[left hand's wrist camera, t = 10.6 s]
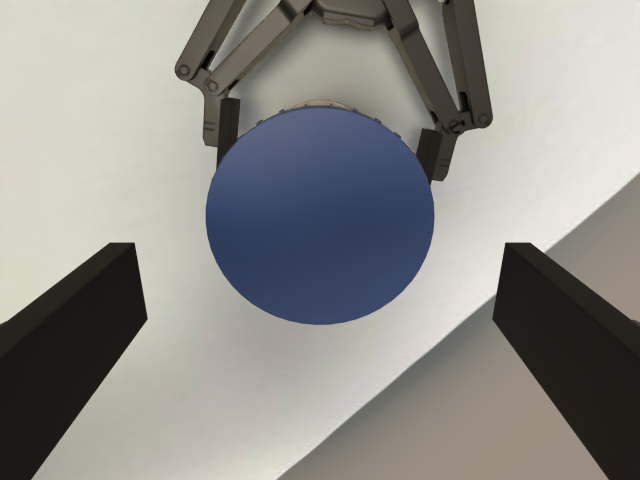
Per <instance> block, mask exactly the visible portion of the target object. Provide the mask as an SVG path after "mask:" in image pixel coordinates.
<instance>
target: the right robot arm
mask: <svg viewBox="0 0 640 480" xmlns="http://www.w3.org/2000/svg"><path fill="white" fill-rule="evenodd" d="M437 1H439V2H442V14H443V22H444V27H445V32H446V37H447V42H448V48H449V53H450V58H451V63H452V69H453V74H454V79H455V84H456V89H457V95H458V100H459V105H460V110H457V108H456V106H455V104H454V101H453V99H452V97H451V95H450V93H449V91H448V89H447V87H446V85H445V82H444V80H443V78H442V76H441V74H440V72H439V70H438V68H437V66H436V64H435V61H434V59H433V57H432V55H431V53H430V51H429V49H428V47H427V45H426V42H425V40H424V38H423V36H422V34H421V32H420V30H419V24H418V21H417V18H416V16H415V14H414V12H413V10H412V8H411V6H410V4H409V1H408V0H281V1H280V3H279V4H278V5H277V6H276V7H275V8H274V10H273V11H272V12H271V13H270V14H269V15H268V16H267V17H266V18H265V19H264V20H263V21H262V22H261V23H260V24H259V25H258V26H257V27H256V28H255V29H254V30H253V31H252V32H251V33H250V34H249V35H248V36H247V37H246V38H245V39H244V40H243V41H242V42H241V43H240V44H239V45H238V46H237V47H236V48H235V49H234V50H233V51H232V52H231V54H230V55H229V56H228V57H227V58H226V59H225V60H224V61H223V62H222V63H221V64H220V65H219V66H218V67H217V68H216V69H215V70H214V71H211V70H209V69H208V68H209V66H210V64H211V62H212V61H213V59H214V57H215V55H216V53H217V52H218V50H219V48H220V46H221V45H222V43H223V41H224V39H225V37H226V36H227V34H228V32H229V30H230V29H231V27H232V25H233V23H234V21H235V20H236V18H237V16H238V14H239V13H240V11H241V9H242V7H243V5H244V4H245V2H246V0H210V1H209V3H208V5H207V7H206V9H205V11H204V13H203V14H202V16H201V18H200V20H199V22H198V24H197V26H196V28H195V29H194V31H193V33H192V35H191V37H190V39H189V41H188V43H187V44H186V46H185V48H184V50H183V52H182V54H181V56H180V57H179V59H178V61H177V63H176V65H175V73H176V75H177V77H178V78H179V79H181V80H183V81H186V82H188V83H190V84H192V85H194V86H196V87H197V88H199V89H200V90H201V91H202V93H203V95H204V100H205V103H204V123H203V140H204V143H205V145H206V146H212V147H218V150H217V166H216V170H217V168H218V166H219V164H220V163H221V161H222V157H223V156H225V155H226V153H227V152H228V151H229V150H230V149H231V147H232V146H233V145H234V144H235V143H236V142H237V136H238V124H239V111H240V99H235V98H228V94H229V93H230V91H231V90H232V89H233V88H234V87H235V86H236V85H237V84H238V83H239V82H240V81H241V80H242V79H243V78H244V77H245V76H246V75H247V74H248V73H249V72H250V71H251V70H252V69H253V68H254V67H255V66H256V65H257V64H258V63H259V62H260V61H261V60H262V59H263V58H264V57H265V56H266V55H267V54H268V53H269V52H270V51H271V50H272V49H273V48H274V47H275V46H276V45H277V44H278V43H279V42H280V41H281V40H282V39H283V38H284V37H285V36H286V35H287V34H288V33H289V32H290V31H291V30H292V29H293V28H294V27H295V26H297V25H298V24H299V23H300V22H301V21H302V20H303V19H304V18H305V17H306V16H307V15H308V14H309V13H310V12H312V13H313V14H314V16H315V17H316V18H318V19H319V20H321V21H323V23H325V24H331V25H339V24H349V25H351V26H353V27H355V28H357V29H360V30H366V31H370V30H372V29H376V28H379V27H381V26H382V25H384V27H385V29H386V31H387V33H388V35H389V37H390V39H391V40H392V42H393V43H394V44H395V46H396V48H397V50H398V52H399V54H400V56H401V58H402V60H403V62H404V64H405V66H406V68H407V70H408V72H409V74H410V76H411V78H412V80H413V82H414V84H415V86H416V88H417V90H418V92H419V94H420V96H421V98H422V100H423V102H424V104H425V106H426V108H427V110H428V112H429V114H430V116H431V118H432V120H433V122H434V124H435V130H430V129H423V128H422V132H421V136H420V140H419V145H418V149H417V153H416V156H417V157H416V158H417V159H418V161H419V162H420V164H421V166H422V168H423V170H424V172H425V174H426V176H427V179H428V182H429V185H431V181H432V180H436V181H443V180H444V179H445V177H446V176H447V174H448V170H449V166H450V162H451V158H452V155H453V151H454V147H455V143H456V140H457V138H458V136H459V135H461V134H462V133H464V132H465V131H467V130H471V129H476V128H486V127H488V126H489V125H490V124H491V122H492V120H493V114H492V108H491V102H490V96H489V90H488V84H487V78H486V72H485V66H484V60H483V54H482V48H481V42H480V36H479V30H478V24H477V18H476V12H475V6H474V0H437Z"/></svg>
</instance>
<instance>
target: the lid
mask: <svg viewBox="0 0 640 480" xmlns="http://www.w3.org/2000/svg"><path fill="white" fill-rule="evenodd" d="M256 125H257V126H255V127H254V128H252V129H251V130H249V131H248V132H247V133H246V134H245V135H244V134H243V135H241V136H240V137H238V138H237V142H236V143H235V144H234V145H233V146H232V147H231V149H230V150H229V151H228V152H227V153H226V155H225V156H223V157H222V161H221V163H220V164H219V166H218V168H217V170H216V172H215V174H214V177H213V178H212V182H211V185H210V189H209V192H208V197H207V204H206V228H207V236H208V240H209V243H210V247H211V250H212V253H213V255H214V258H215V260H216V262H217V264H218V266H219V268H220V269H221V271H222V273H223V274H224V276H225V277H226V278H227V280H228V281H229V282H230V284H231V285H232V286H233V287H234V288H235V289H236V290H237V291H238V292H239V293H240V294H241V295H242V296H243V297H244V298H246V299H247V300H248V301H249V302H251V303H252V304H254V305H255V306H257V307H258V308H260V309H262V310H263V311H265V312H267V313H270V314H272V315H274V316H276V317H279V318H282V319H285V320H288V321H293V322H297V323H302V324H313V325H327V324H336V323H343V322H347V321H351V320H355V319H358V318H361V317H363V316H366V315H369V314H371V313H373V312H374V311H376V310H378V309H380V308H382V307H383V306H385V305H386V304H388V303H389V302H391V301H392V300H393V299H394V298H396V297H397V296H398V295H399V294H400V293H401V292H402V291H403V290H404V289H405V288H406V287H407V286H408V285H409V284H410V282H411V281H412V280H413V278H414V277H415V276H416V274H417V273H418V271H419V270H420V268H421V266H422V264H423V262H424V260H425V258H426V255H427V253H428V250H429V247H430V244H431V239H432V235H433V229H434V202H433V197H432V192H431V188H430V185H429V182H428V179H427V176H426V174H425V172H424V170H423V168H422V166H421V164H420V162H419V161H418V159H417V158H416V157H417V156H416V154H414V153H413V152H412V151H411V150H410V148H409V147H408V146H407V145H406V144H405V143H404V142H403V141H402V140H401V139H400V138H401V136H399V135H398V134H396V133H395V132H394V133H393V132H392V131H390V130H389V129H388V128H387V127H385V126H384V125H382V124H381V121H380V120H378V119H376V118H375V120H374V119H372V118H370V117H369V116H367V115H364V114H362V113H359V112H358V110H356V109H354V108H353V110H351V109H347V108H343V107H338V106H333V105H332V104H329V105H309V106H308V104H305V105H304V106H303V107H297V108H293V109H290V110H286V111H284V109H283V110H281V111H279V113H278V114H276V115H274V116H272V117H270V118H267V119H266V120H264V121H263V120H260V121H259V122H257V123H256Z"/></svg>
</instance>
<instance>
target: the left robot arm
mask: <svg viewBox="0 0 640 480" xmlns="http://www.w3.org/2000/svg"><path fill="white" fill-rule="evenodd" d="M147 319H148V318H147V312H146V306H145V301H144V295H143V289H142V283H141V277H140V271H139V266H138V260H137V254H136V248H135V243H109V244H108V245H106V246H105V247H104V248H102V249H101V250H100V251H98V252H97V253H96V254H94V255H93V256H92V257H91V258H89V259H88V260H87V261H85V262H84V263H83V264H81V265H80V266H79V267H77V268H76V269H75V270H74V271H72V272H71V273H70V274H68V275H67V276H66V277H64V278H63V279H62V280H60V281H59V282H58V283H57V284H55V285H54V286H53V287H51V288H50V289H49V290H47V291H46V292H45V293H43V294H42V295H41V296H40V297H38V298H37V299H36V300H34V301H33V302H32V303H30V304H29V305H28V306H26V307H25V308H24V309H23V310H21V311H20V312H19V313H17V314H16V315H15V316H13V317H12V318H11V319H9V320H8V321H6V322H4V323H2V324H0V480H31V479H32V478H33V476H34V475H35V473H36V472H37V471H38V469H39V468H40V467H41V465H42V464H43V462H44V461H45V460H46V458H47V457H48V456H49V454H50V453H51V451H52V450H53V449H54V447H55V446H56V445H57V443H58V442H59V440H60V439H61V438H62V436H63V435H64V434H65V432H66V431H67V429H68V428H69V427H70V425H71V424H72V423H73V421H74V420H75V418H76V417H77V416H78V414H79V413H80V412H81V410H82V409H83V407H84V406H85V405H86V403H87V402H88V401H89V399H90V398H91V396H92V395H93V394H94V392H95V391H96V390H97V388H98V387H99V385H100V384H101V383H102V381H103V380H104V379H105V377H106V376H107V374H108V373H109V372H110V370H111V369H112V368H113V366H114V365H115V363H116V362H117V361H118V359H119V358H120V357H121V355H122V354H123V352H124V351H125V350H126V348H127V347H128V346H129V344H130V343H131V341H132V340H133V339H134V337H135V336H136V335H137V333H138V332H139V330H140V329H141V328H142V326H143V325H144V324H145V322H146V321H147ZM492 319H493V321H494V322H495V323H496V325H497V326H498V328H499V329H500V330H501V332H502V333H503V334H504V336H505V337H506V339H507V340H508V341H509V343H510V344H511V346H512V347H513V348H514V350H515V351H516V352H517V354H518V355H519V357H520V358H521V359H522V361H523V362H524V363H525V365H526V366H527V368H528V369H529V370H530V372H531V373H532V374H533V376H534V377H535V379H536V380H537V381H538V383H539V384H540V385H541V387H542V388H543V389H544V391H545V392H546V394H547V395H548V396H549V398H550V399H551V401H552V402H553V403H554V405H555V406H556V407H557V409H558V410H559V412H560V413H561V414H562V416H563V417H564V418H565V420H566V421H567V423H568V424H569V425H570V427H571V428H572V429H573V431H574V432H575V434H576V435H577V436H578V438H579V439H580V440H581V442H582V443H583V445H584V446H585V447H586V449H587V450H588V451H589V453H590V454H591V456H592V457H593V458H594V460H595V461H596V462H597V464H598V465H599V467H600V468H601V469H602V471H603V472H604V473H605V475H606V476H607V478H608V479H609V480H640V322H638V321H635V320H631V319H629V318H628V317H627V316H625V315H624V314H623V313H621V312H620V311H619V310H617V309H616V308H615V307H614V306H612V305H611V304H610V303H608V302H607V301H606V300H604V299H603V298H602V297H600V296H599V295H598V294H597V293H595V292H594V291H593V290H591V289H590V288H589V287H587V286H586V285H585V284H583V283H582V282H581V281H579V280H578V279H577V278H576V277H574V276H573V275H572V274H570V273H569V272H568V271H566V270H565V269H564V268H563V267H561V266H560V265H559V264H557V263H556V262H555V261H553V260H552V259H551V258H549V257H548V256H547V255H546V254H544V253H543V252H542V251H540V250H539V249H538V248H536V247H535V246H534V245H532V244H531V243H505V248H504V254H503V260H502V266H501V271H500V277H499V283H498V289H497V295H496V301H495V306H494V312H493V318H492Z"/></svg>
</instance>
